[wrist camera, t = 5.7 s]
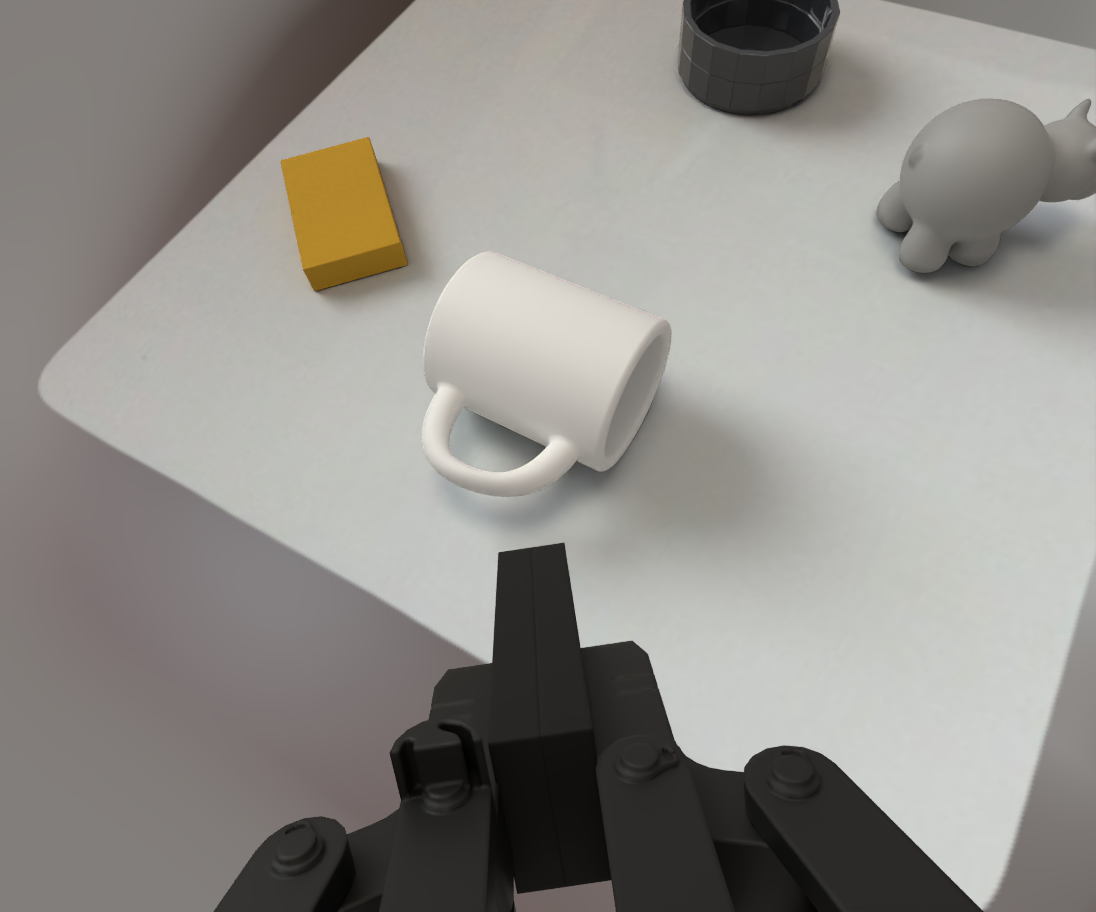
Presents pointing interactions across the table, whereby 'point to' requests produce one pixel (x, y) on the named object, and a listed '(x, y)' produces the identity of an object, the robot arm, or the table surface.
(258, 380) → the table surface
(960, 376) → the table surface
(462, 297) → the mug
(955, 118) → the round bodied animal figurine
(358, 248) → the ochre rectangular brick
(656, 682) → the robot arm
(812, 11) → the dark grey round container
